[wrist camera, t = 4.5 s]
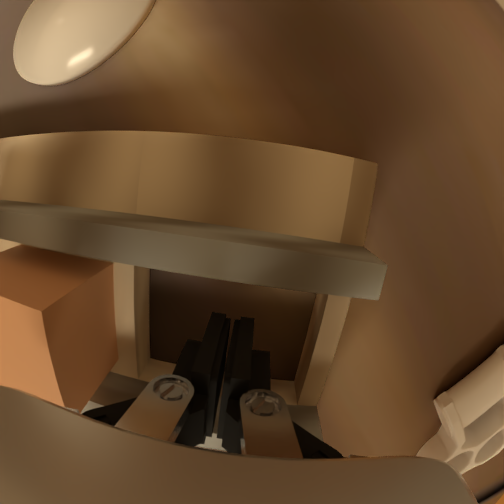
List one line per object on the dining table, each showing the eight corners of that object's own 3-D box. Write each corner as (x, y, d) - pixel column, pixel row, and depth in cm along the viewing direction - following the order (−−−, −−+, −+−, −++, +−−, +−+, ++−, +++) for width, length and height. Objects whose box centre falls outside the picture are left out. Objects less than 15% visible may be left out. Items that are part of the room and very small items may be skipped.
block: (113, 263, 12) (41, 311, 7) (118, 359, 13) (71, 426, 8) (20, 244, 12) (-50, 273, 7) (31, 329, 13) (-22, 373, 8)
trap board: (362, 164, 12) (407, 161, 8) (293, 433, 16) (298, 488, 12) (-54, 151, 12) (-93, 154, 8) (-38, 328, 16) (-67, 349, 12)
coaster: (179, -58, 9) (176, -65, 8) (134, 77, 11) (127, 72, 11) (50, -25, 9) (44, -29, 8) (5, 97, 11) (-3, 95, 11)
